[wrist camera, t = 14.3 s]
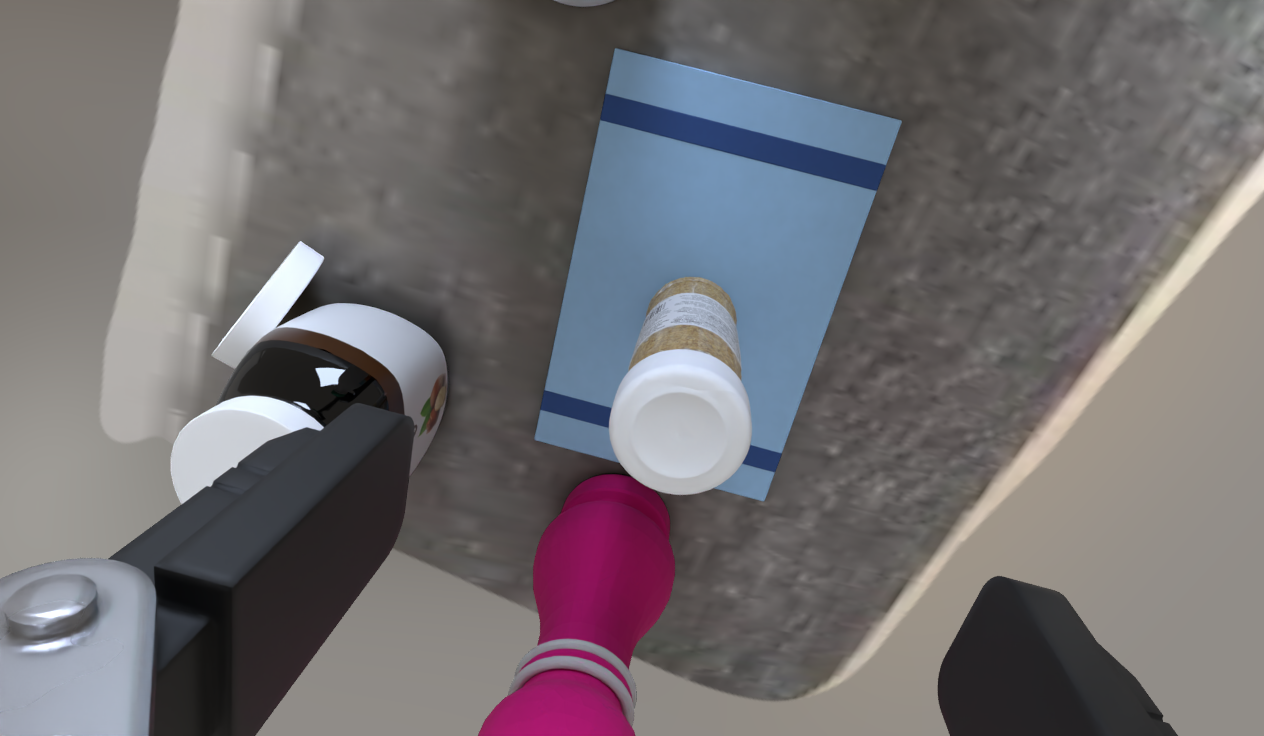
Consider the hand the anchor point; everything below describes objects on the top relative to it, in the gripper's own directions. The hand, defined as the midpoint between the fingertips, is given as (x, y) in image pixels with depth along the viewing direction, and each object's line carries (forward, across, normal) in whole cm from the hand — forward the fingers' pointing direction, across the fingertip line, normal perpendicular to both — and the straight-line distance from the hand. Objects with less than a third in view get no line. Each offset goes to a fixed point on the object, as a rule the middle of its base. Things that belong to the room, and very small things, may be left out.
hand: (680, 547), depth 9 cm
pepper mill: (+25, +1, +17) cm, 30 cm away
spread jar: (+25, +17, +11) cm, 32 cm away
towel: (+25, 0, +3) cm, 25 cm away
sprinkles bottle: (+25, 0, +4) cm, 25 cm away
